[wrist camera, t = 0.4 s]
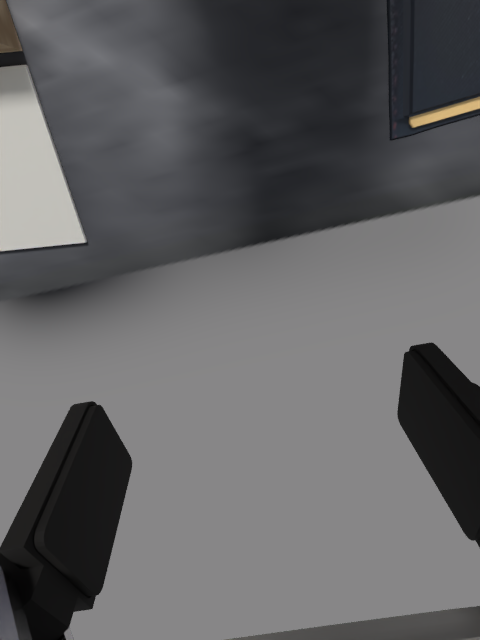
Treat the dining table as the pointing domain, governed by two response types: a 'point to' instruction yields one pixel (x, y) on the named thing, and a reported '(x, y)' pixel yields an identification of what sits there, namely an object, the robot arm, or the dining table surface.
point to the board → (7, 31)
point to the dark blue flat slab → (432, 63)
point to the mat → (31, 172)
